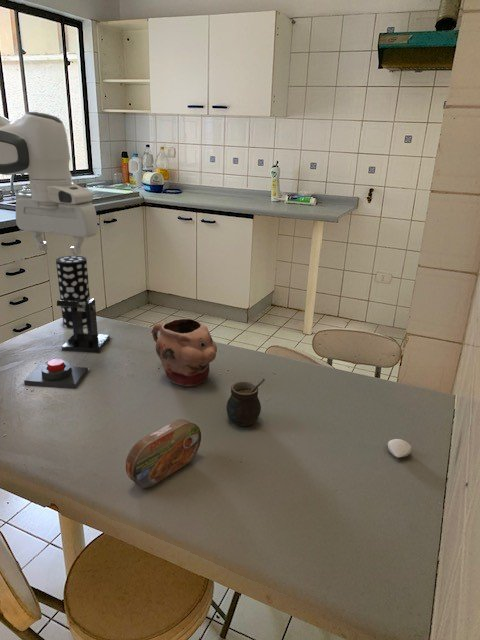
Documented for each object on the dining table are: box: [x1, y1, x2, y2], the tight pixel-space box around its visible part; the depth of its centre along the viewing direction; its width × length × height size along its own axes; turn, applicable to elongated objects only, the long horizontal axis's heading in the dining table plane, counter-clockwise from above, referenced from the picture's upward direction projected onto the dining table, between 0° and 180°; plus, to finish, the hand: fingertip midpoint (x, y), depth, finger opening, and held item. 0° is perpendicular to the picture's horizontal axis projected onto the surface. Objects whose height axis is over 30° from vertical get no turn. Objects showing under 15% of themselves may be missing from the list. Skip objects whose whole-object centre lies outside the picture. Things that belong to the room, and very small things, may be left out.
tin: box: [125, 418, 202, 489], centre depth 80 cm, size 15×3×8 cm, turn 137°
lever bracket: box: [61, 297, 111, 354], centre depth 125 cm, size 9×10×13 cm
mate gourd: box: [225, 378, 266, 427], centre depth 95 cm, size 7×8×10 cm
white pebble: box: [387, 438, 412, 459], centre depth 88 cm, size 4×5×2 cm
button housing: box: [23, 360, 89, 389], centre depth 109 cm, size 12×8×3 cm, turn 87°
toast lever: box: [56, 299, 86, 312], centre depth 119 cm, size 12×5×2 cm, turn 177°
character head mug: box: [151, 317, 218, 387], centre depth 111 cm, size 20×12×14 cm, turn 58°
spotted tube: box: [55, 255, 91, 329], centre depth 137 cm, size 8×8×20 cm
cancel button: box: [46, 358, 65, 372], centre depth 109 cm, size 4×4×2 cm
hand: (59, 252), depth 109 cm, fingers open, 8 cm apart
